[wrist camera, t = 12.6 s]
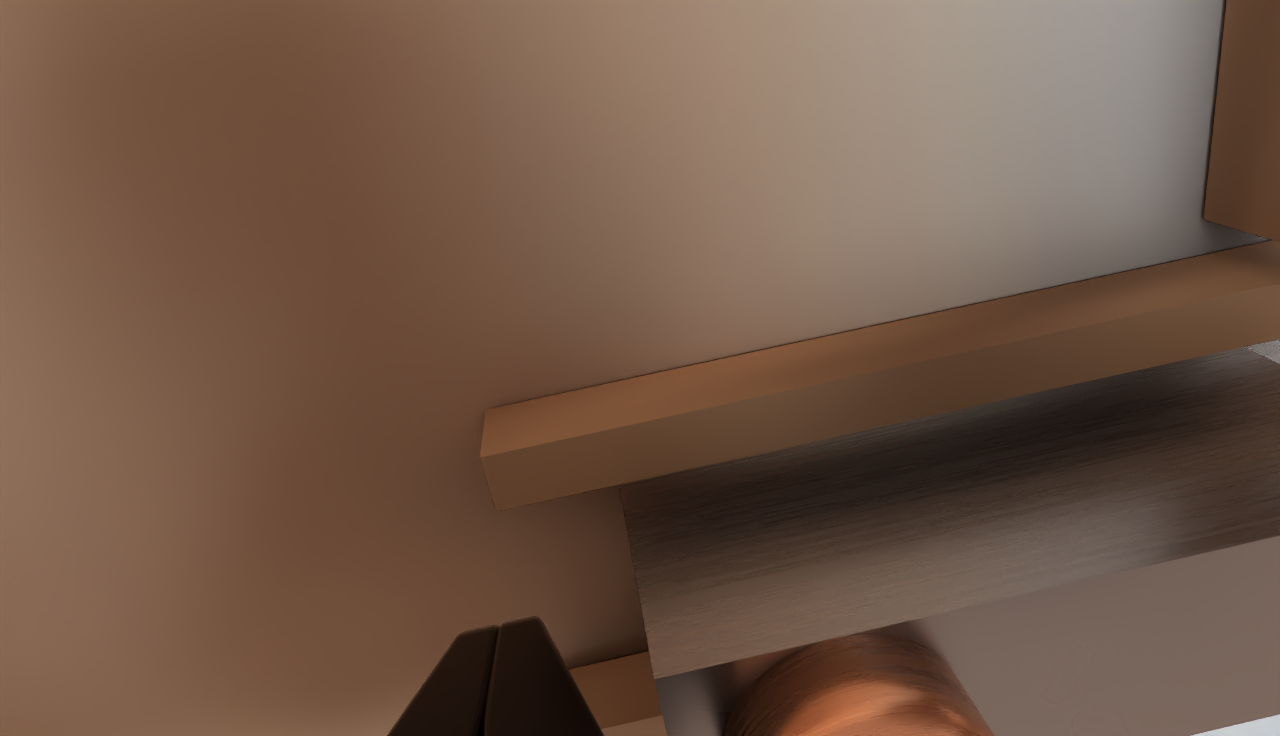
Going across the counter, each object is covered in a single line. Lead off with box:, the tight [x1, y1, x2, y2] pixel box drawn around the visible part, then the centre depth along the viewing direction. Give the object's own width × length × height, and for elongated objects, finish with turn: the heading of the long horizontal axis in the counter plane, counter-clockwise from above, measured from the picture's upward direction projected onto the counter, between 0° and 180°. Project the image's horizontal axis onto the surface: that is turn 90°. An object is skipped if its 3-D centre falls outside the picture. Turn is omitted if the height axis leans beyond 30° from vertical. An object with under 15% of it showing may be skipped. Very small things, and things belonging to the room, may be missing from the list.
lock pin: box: [619, 347, 1280, 736], centre depth 8 cm, size 7×2×4 cm, turn 100°
